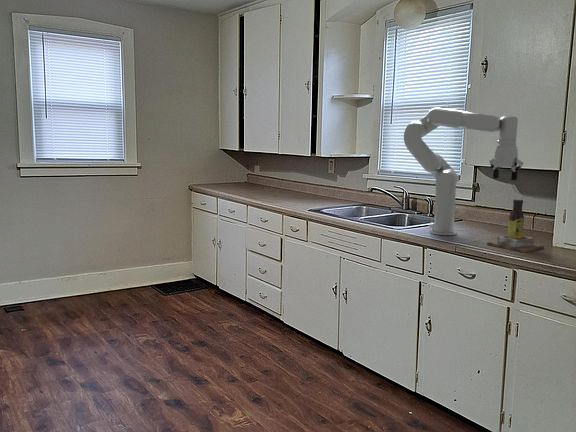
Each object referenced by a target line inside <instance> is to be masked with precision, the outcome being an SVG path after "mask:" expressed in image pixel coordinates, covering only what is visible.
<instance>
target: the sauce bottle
mask: <svg viewBox="0 0 576 432" xmlns="http://www.w3.org/2000/svg"><path fill="white" fill-rule="evenodd" d="M512 201H513V202H512V203H513V204H512V210H511V212H510V213H509V219H508V225H507V226H508V227H507V234H506V235H507V238H510V239H515V240H521V239H522V237H523V236H524V226H525V215H524V212H523V204H524V200H523V199H518V198H517V199H516V198H514V199H513V200H512Z"/></svg>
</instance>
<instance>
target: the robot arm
mask: <svg viewBox="0 0 576 432" xmlns="http://www.w3.org/2000/svg"><path fill="white" fill-rule="evenodd" d="M518 123H519V119H518V117H517V116H514V115H511V116H509V115H507V116H506V115H505V116H504V115H503V116H496V115H492V114H491V115H490V114H483V113H475V112H470V111H465V110H459V109H450V108H442V107H432V108H431V109H430V110H429V111H428V113H427V114H426V115H424V116H423V117H421V118H420V119H418V120H417V121H416V120H414V121H411V122H410V123H408V124H407V125H406V128H405V129H404V132H403V133H404V134H403V142H404V145H405V147H406V149H407V150H408V151H409V153H410V154H411V155H412V156H413V158H415V160H416V161H417V162H418V163H419V164H420V166H421V167H422V168H423V170H425V172H427V173H430V175H432V176H433V177H434V179H435V197H434V198H435V199H434V200H435V202H434V203H435V204H434V221H433V222H430V223H429V224H428V227H429V228H432V229H431V230H430V234H433V235H435V236H436V235H438V236H456V235H457V234H458V232H457V230H454V229H455V225H454V224H455V215H456V214H455V212H456V209H455V208H456V195H457V194H456V192H457V184H458V181H459V180H458V178H459V176H458V173H457V172H456V170H454V168H453V167H451V165H450V164H449V163H448V162H447V161H446V160H445V158H443V156H441V155H440V154H438V153H435V152H434V151H433V150H432V149H431V148H430V147H429V145H427V143H426V142H425V141H424V140H423V139H422V138H423V137H425V136H427V135H428V134H430V133H431V132H433V131H434V130H436V129H438V127H446V128H452V129H453V128H454V129H459V130H475V131H480V132H487V133H489V132H490V133H494V132H499V134H498V135H499V137H498V140H497V141H496V143H497V144H498V145H496V148H495V151H494V158H492V159H490V160H489V165H490V167H491V169H492V171H493V174H492V176H493V177H492V178H493V179H496V180H497V179H499V177H500V170H499V168H510V169H511V170H512V171H511V176H510V177H511V181H517V179H518V172H519V171H520V170H521V169H522V167H523V165H524V162H523V161H522V160H520V159H519V154H518V146H517V138H518V137H517V134H518V133H517V132H518Z"/></svg>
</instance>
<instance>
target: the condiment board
mask: <svg viewBox="0 0 576 432" xmlns="http://www.w3.org/2000/svg"><path fill="white" fill-rule="evenodd" d="M507 235H508V234H506V235H500V236H497V240H493V241H488V242H487V243H486V245H487V246H490V245H491V246H492V247H495V246H496V247H495V248H500V247H501V249H504V250H505V249H506V250H510V251H514V250H516V251H515V252H519V251H520V252H521V253H528V252H531V251H537V250H542V249H545V246H544V245H542V244H537V243H535V237H531V236H525V235H523V237H522V239H521V240H515V239H510V238H507Z"/></svg>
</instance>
